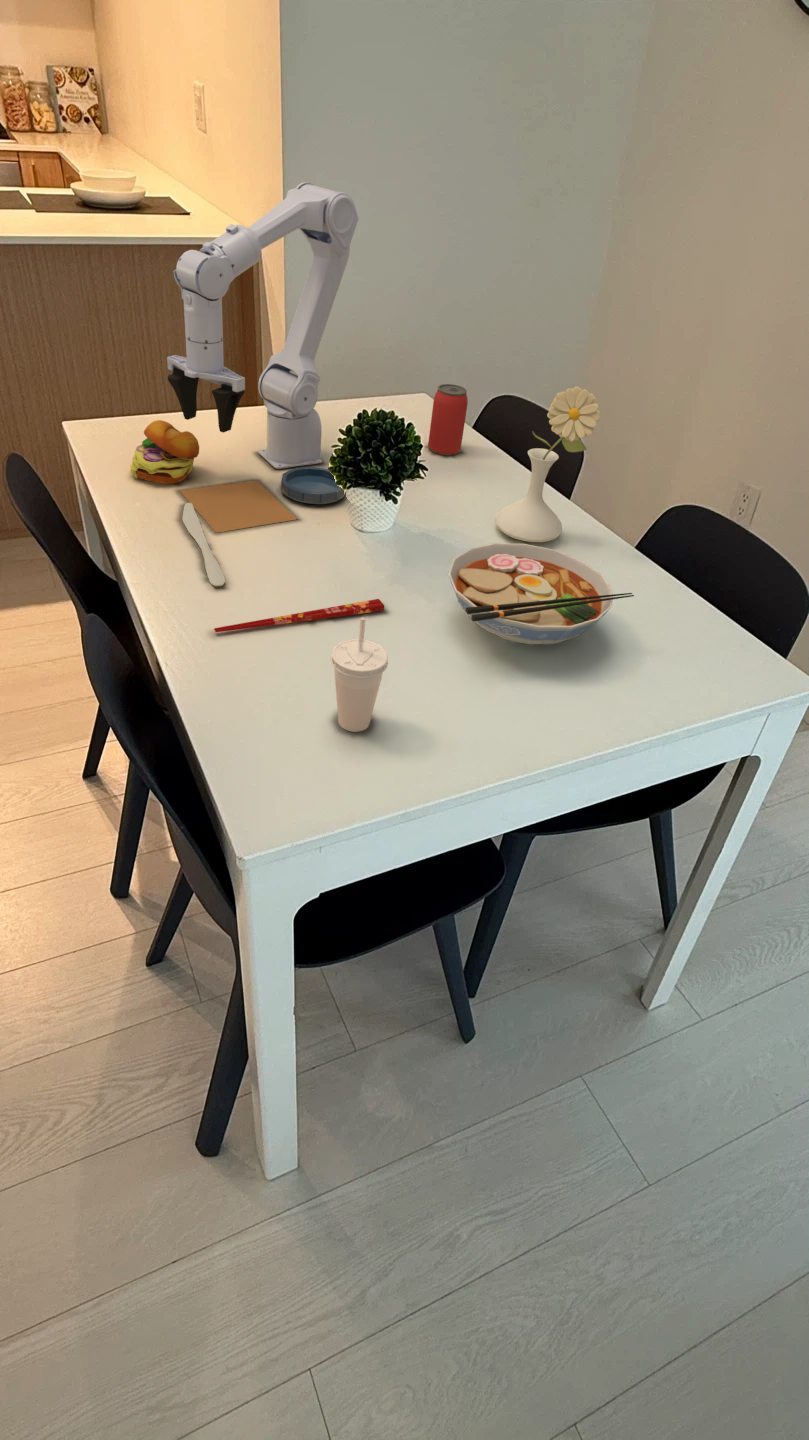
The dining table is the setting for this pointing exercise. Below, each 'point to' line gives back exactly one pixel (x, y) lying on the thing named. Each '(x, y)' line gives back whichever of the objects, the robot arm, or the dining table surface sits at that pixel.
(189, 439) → the cheeseburger
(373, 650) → the smoothie
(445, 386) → the beer can
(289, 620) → the chopstick
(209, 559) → the butter knife
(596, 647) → the dining table surface
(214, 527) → the placemat
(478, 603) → the ramen bowl
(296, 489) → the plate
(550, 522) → the flower in vase
